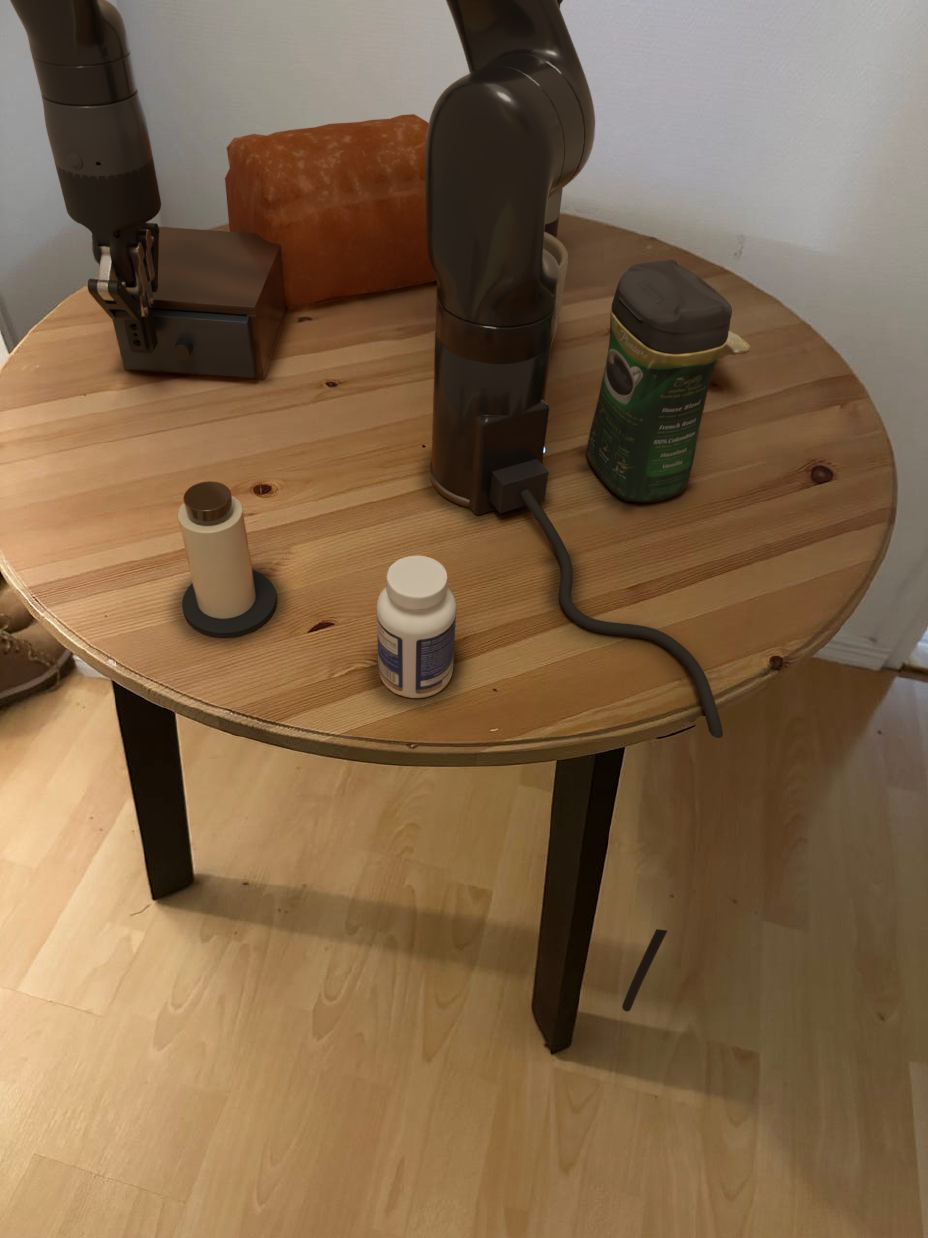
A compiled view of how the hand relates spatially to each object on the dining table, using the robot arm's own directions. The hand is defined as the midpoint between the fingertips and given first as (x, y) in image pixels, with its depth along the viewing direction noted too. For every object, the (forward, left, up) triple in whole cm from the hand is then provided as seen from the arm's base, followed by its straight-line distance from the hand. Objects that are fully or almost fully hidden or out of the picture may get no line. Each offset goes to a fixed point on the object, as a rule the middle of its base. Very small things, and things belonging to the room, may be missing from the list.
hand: (144, 348), depth 88 cm
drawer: (+6, -7, -4) cm, 9 cm away
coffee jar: (-29, -36, -5) cm, 47 cm away
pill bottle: (-42, -8, -5) cm, 43 cm away
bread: (+17, -27, -5) cm, 32 cm away
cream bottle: (-30, +2, -4) cm, 31 cm away
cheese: (-16, -51, -5) cm, 54 cm away
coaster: (-30, +2, -5) cm, 31 cm away
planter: (-6, -34, -5) cm, 35 cm away
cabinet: (+8, -8, -5) cm, 12 cm away
